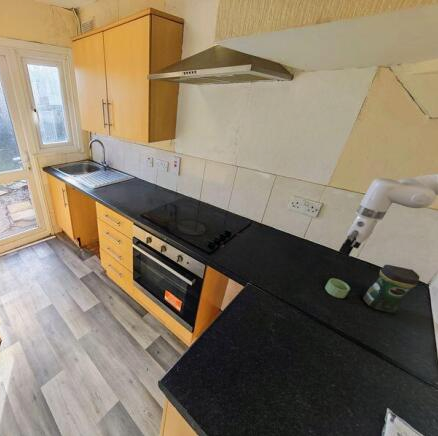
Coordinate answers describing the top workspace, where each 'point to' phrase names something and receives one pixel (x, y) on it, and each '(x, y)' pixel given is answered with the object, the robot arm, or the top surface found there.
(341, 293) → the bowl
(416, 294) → the top surface
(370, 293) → the coffee jar
